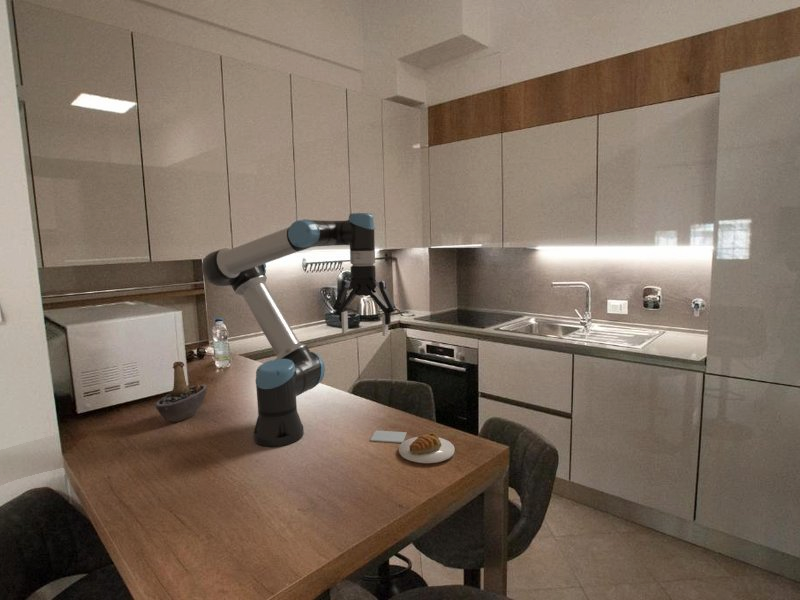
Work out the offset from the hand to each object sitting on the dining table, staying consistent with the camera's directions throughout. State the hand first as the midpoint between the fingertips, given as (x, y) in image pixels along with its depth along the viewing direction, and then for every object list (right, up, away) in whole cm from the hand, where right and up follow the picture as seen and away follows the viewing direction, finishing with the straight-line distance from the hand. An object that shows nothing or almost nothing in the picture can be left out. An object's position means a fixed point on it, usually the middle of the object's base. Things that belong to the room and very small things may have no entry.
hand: (364, 333), depth 147 cm
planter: (-64, -31, +19) cm, 74 cm away
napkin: (+7, -32, 0) cm, 33 cm away
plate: (+18, -33, -11) cm, 39 cm away
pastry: (+18, -32, -11) cm, 39 cm away
